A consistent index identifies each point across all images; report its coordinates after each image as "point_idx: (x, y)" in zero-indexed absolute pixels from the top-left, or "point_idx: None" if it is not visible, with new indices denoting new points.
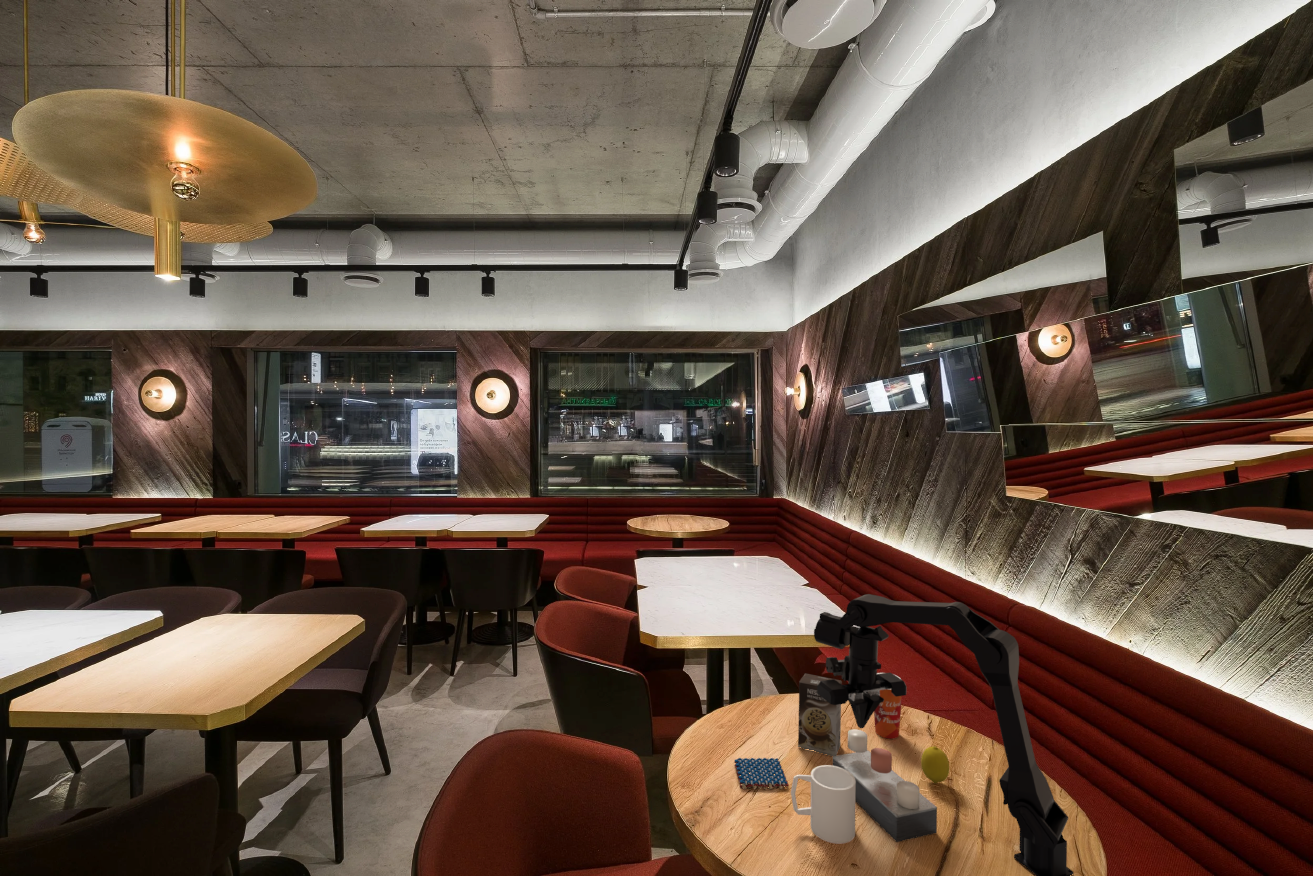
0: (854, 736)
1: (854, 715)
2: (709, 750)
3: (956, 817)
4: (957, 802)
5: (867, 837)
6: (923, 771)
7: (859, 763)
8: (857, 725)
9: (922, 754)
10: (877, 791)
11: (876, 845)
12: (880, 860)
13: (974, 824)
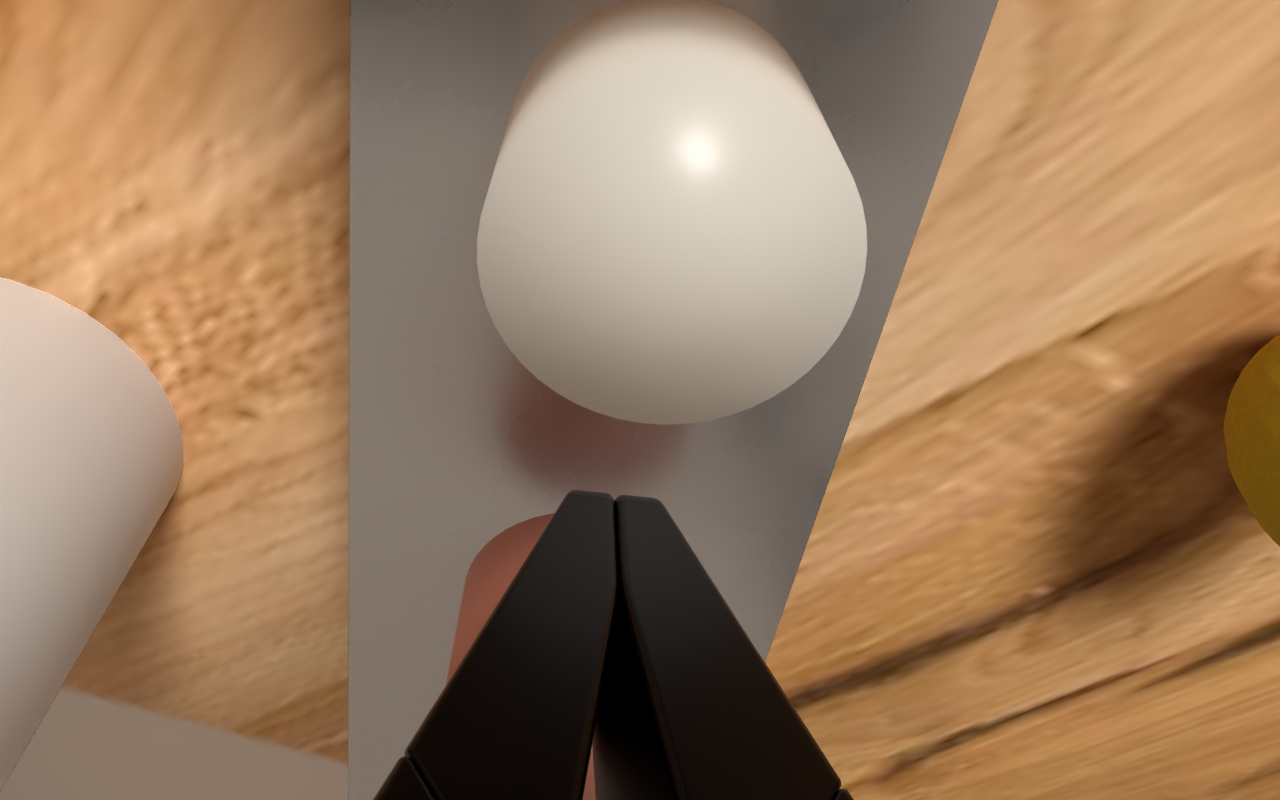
0: (542, 309)
1: (465, 667)
2: None
3: (956, 639)
4: (1139, 558)
5: (229, 561)
6: (1261, 374)
7: None
8: (567, 497)
9: None
10: (411, 602)
11: (243, 621)
12: (190, 695)
13: (981, 705)
